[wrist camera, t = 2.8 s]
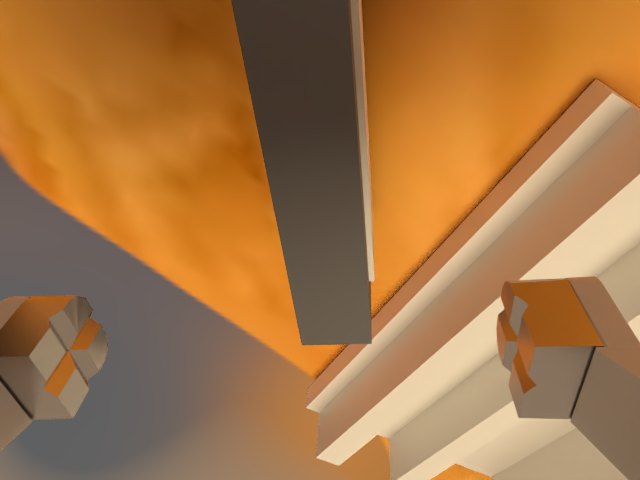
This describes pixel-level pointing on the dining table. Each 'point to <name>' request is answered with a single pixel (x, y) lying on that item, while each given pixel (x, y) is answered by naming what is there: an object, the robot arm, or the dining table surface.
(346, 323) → the picture frame
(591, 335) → the robot arm
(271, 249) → the dining table surface
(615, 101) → the picture ledge
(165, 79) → the dining table surface
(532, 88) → the dining table surface
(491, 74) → the dining table surface
